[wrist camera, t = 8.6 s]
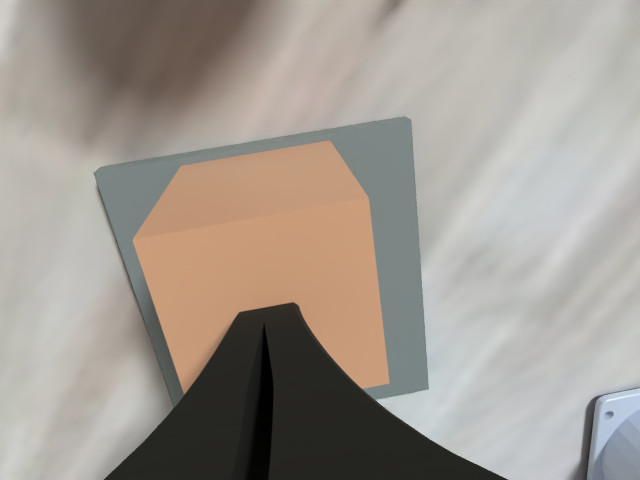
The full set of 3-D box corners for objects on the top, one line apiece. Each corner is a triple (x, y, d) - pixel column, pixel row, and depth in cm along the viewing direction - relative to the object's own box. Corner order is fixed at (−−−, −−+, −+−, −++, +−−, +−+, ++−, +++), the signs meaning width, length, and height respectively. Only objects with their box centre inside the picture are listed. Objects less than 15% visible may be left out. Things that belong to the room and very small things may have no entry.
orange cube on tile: (348, 271, 19) (389, 383, 13) (216, 296, 18) (193, 422, 12) (330, 140, 16) (368, 198, 10) (180, 166, 16) (132, 240, 10)
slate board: (423, 377, 22) (428, 389, 21) (187, 422, 22) (184, 436, 21) (404, 116, 17) (411, 119, 17) (101, 166, 17) (93, 172, 16)
